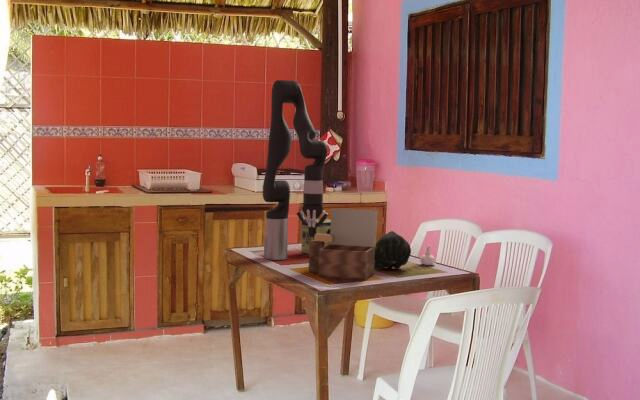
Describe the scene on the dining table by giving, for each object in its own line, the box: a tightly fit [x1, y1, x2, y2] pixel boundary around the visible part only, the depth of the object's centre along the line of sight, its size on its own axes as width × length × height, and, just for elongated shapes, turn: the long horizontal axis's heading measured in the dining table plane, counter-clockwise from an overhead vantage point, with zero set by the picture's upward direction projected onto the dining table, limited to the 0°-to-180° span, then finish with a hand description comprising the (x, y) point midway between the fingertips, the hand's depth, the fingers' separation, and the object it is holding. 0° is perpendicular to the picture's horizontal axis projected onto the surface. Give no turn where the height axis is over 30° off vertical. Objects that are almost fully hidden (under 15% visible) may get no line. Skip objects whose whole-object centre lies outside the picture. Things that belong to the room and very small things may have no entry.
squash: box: [374, 230, 412, 270], centre depth 281 cm, size 14×15×15 cm
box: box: [308, 240, 375, 281], centre depth 268 cm, size 24×14×12 cm, turn 73°
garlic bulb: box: [419, 245, 436, 266], centre depth 297 cm, size 6×6×8 cm
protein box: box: [301, 218, 331, 256], centre depth 314 cm, size 10×16×16 cm
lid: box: [330, 207, 378, 247], centre depth 274 cm, size 18×14×1 cm
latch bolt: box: [314, 233, 335, 242], centre depth 272 cm, size 7×4×2 cm, turn 73°
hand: (312, 236), depth 273 cm, fingers closed
